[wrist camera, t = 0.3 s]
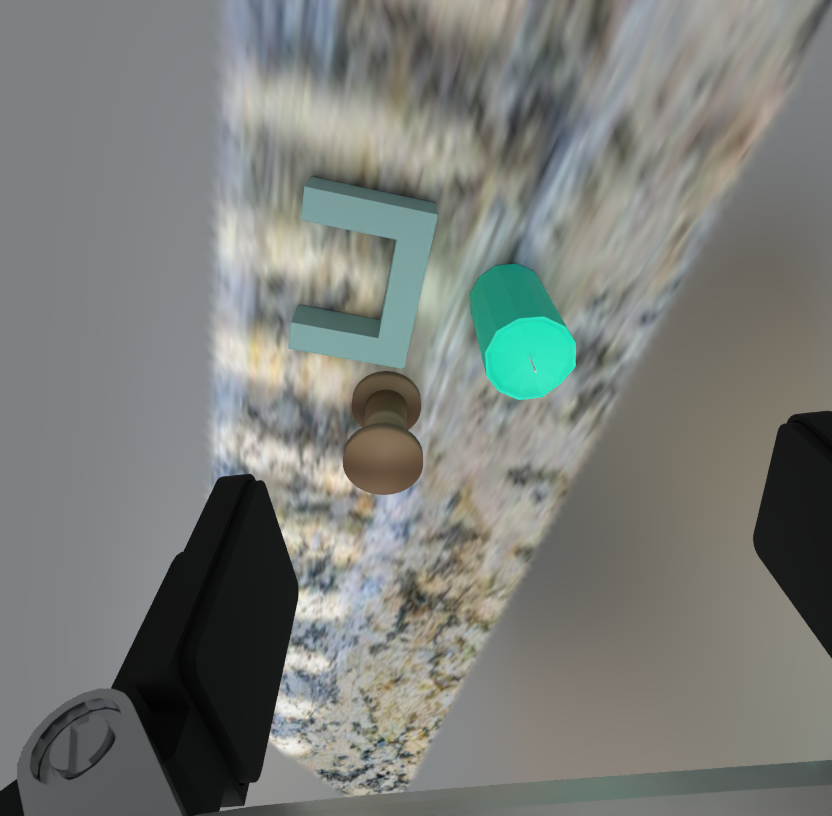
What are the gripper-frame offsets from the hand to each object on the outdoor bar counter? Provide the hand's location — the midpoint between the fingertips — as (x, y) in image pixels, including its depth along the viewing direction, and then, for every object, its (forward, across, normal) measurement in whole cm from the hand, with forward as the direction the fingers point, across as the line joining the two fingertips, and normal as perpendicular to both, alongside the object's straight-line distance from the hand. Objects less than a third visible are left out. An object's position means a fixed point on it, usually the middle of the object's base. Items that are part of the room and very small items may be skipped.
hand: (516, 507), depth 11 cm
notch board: (+35, +6, +6) cm, 36 cm away
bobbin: (+35, +6, +18) cm, 40 cm away
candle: (+36, -4, +9) cm, 37 cm away
